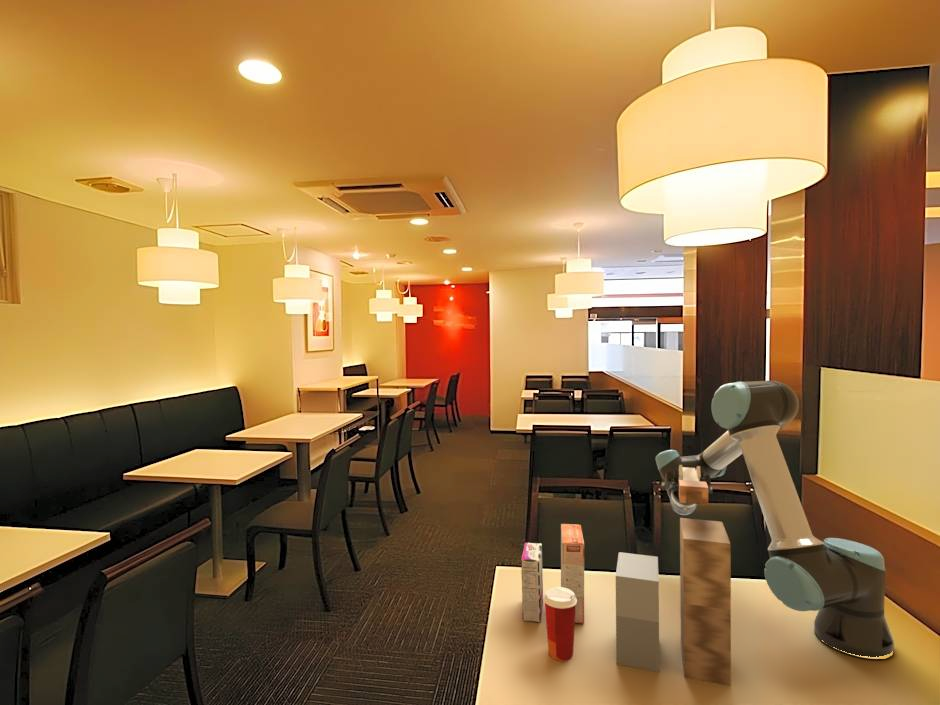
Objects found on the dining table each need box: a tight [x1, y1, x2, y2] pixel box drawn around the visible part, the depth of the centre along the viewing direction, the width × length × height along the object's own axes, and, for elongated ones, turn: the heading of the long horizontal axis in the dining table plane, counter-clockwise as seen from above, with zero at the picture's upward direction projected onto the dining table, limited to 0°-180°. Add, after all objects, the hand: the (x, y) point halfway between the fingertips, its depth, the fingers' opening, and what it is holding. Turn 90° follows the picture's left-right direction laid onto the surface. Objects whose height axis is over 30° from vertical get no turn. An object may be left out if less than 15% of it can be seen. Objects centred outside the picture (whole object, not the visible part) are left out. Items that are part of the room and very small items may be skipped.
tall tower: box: [679, 517, 732, 686], centre depth 113 cm, size 9×13×30 cm
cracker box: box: [560, 523, 585, 624], centre depth 136 cm, size 14×6×21 cm, turn 171°
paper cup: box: [543, 586, 577, 662], centre depth 117 cm, size 8×8×14 cm
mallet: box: [679, 467, 709, 506], centre depth 127 cm, size 6×22×4 cm, turn 160°
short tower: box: [615, 551, 660, 673], centre depth 118 cm, size 9×13×20 cm
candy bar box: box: [520, 542, 544, 623], centre depth 136 cm, size 11×5×16 cm, turn 168°
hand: (689, 470), depth 130 cm, fingers closed on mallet, 3 cm apart
